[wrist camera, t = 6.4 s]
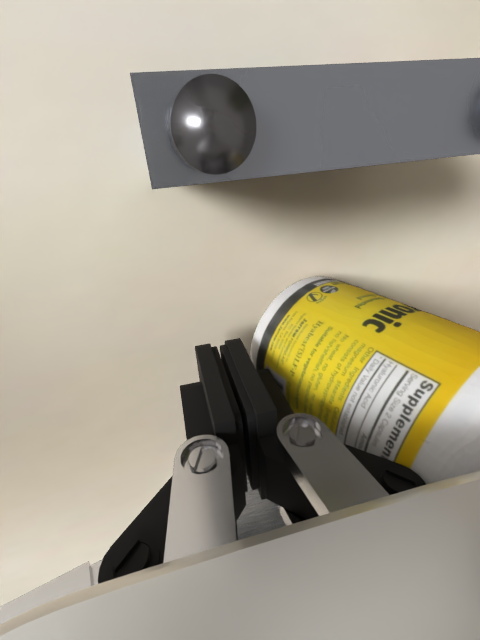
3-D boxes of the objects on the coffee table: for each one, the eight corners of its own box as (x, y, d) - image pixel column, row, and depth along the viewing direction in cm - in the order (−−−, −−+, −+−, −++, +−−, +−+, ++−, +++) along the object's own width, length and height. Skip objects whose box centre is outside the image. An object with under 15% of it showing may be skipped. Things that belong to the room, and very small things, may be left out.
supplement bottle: (359, 289, 15) (708, 423, 8) (309, 392, 16) (574, 597, 9) (280, 253, 11) (792, 438, 4) (223, 388, 12) (548, 729, 5)
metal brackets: (139, 117, 10) (127, 61, 4) (377, 101, 11) (620, 44, 5) (204, 459, 17) (234, 617, 11) (345, 422, 18) (436, 544, 12)
